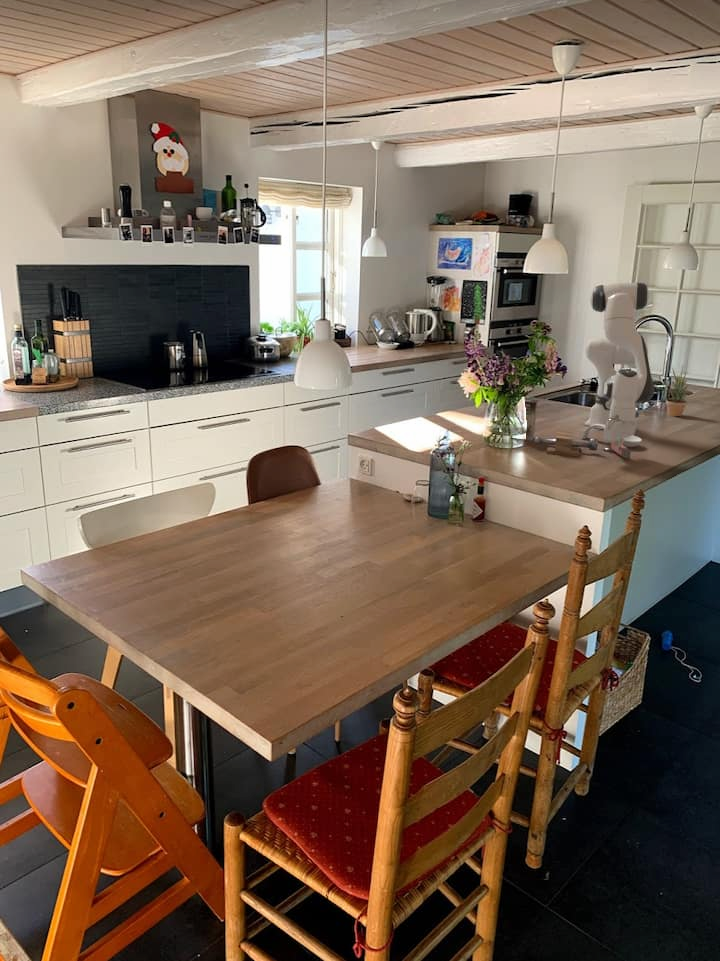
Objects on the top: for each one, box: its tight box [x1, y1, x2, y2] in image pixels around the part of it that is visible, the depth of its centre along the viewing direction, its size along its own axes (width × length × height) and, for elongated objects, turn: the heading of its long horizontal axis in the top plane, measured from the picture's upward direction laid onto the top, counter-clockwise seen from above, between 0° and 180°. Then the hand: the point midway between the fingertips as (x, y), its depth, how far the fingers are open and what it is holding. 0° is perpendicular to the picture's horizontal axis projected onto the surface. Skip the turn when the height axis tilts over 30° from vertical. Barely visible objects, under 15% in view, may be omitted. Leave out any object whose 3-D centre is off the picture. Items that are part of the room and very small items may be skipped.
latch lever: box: [611, 442, 632, 459], centre depth 288 cm, size 14×2×3 cm, turn 5°
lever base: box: [602, 442, 616, 453], centre depth 296 cm, size 6×6×4 cm
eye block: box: [546, 430, 581, 457], centre depth 294 cm, size 14×12×6 cm
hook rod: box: [533, 436, 599, 451], centre depth 294 cm, size 3×24×4 cm, turn 74°
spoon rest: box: [581, 424, 643, 448], centre depth 307 cm, size 24×12×7 cm, turn 53°
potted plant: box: [665, 365, 689, 417], centre depth 360 cm, size 10×10×25 cm
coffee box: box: [524, 398, 538, 442], centre depth 310 cm, size 9×6×16 cm
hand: (617, 449), depth 286 cm, fingers closed
